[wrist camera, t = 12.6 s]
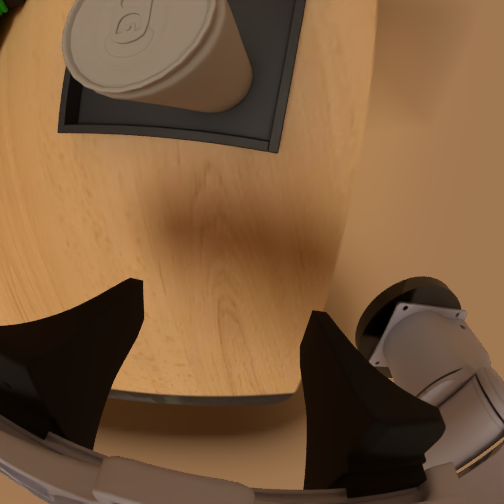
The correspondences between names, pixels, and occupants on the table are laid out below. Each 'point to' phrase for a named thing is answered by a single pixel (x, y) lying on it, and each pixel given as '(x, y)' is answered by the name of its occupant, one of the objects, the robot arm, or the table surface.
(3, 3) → the toy car
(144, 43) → the beverage can
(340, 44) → the table surface
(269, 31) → the tray
